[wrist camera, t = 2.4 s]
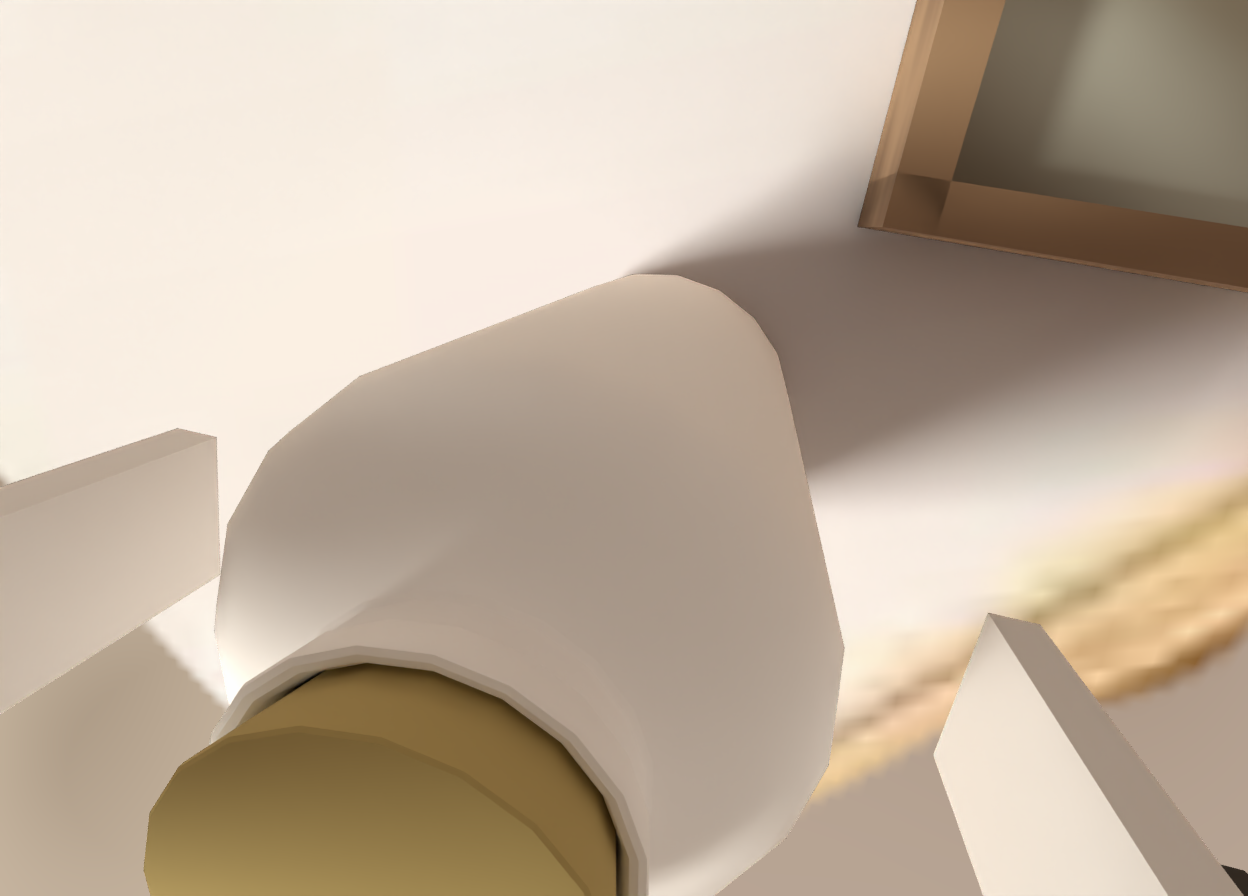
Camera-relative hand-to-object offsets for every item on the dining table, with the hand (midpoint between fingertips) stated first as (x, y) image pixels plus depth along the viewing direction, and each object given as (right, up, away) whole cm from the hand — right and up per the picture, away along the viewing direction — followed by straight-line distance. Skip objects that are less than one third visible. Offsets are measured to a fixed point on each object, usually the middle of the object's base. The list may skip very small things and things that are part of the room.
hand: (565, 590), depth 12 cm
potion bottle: (+2, +4, +11) cm, 12 cm away
